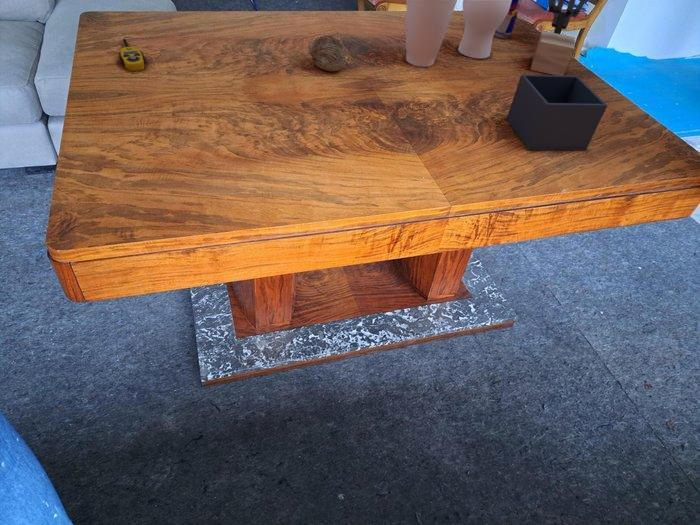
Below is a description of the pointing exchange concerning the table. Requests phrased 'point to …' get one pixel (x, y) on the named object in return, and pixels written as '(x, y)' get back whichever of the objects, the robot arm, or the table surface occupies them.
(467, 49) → the cup
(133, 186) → the table surface
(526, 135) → the box
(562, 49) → the block
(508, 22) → the beverage can
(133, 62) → the yellow walkie talkie
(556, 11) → the robot arm
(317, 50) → the seashell
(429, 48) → the cup
